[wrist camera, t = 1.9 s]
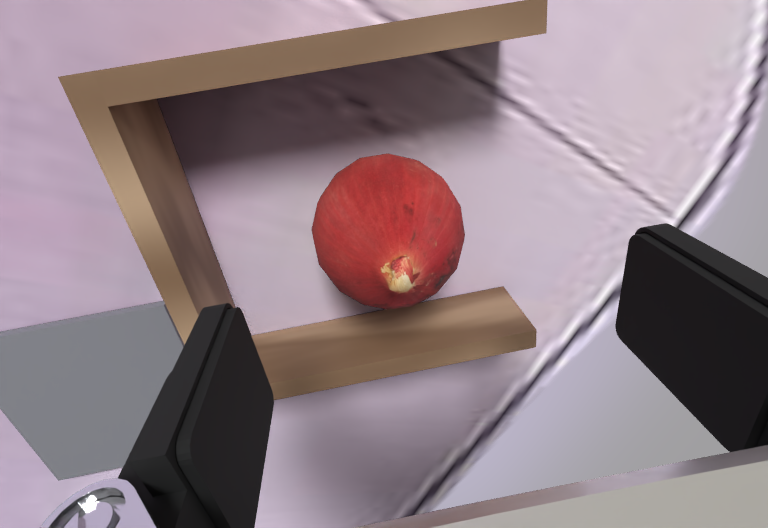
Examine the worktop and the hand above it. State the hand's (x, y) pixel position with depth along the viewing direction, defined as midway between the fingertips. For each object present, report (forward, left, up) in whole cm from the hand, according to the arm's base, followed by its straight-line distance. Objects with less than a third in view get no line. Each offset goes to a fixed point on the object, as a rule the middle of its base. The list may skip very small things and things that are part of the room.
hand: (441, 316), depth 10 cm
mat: (-9, +16, -10) cm, 21 cm away
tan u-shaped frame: (-1, +1, -10) cm, 11 cm away
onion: (-1, 0, -11) cm, 11 cm away
